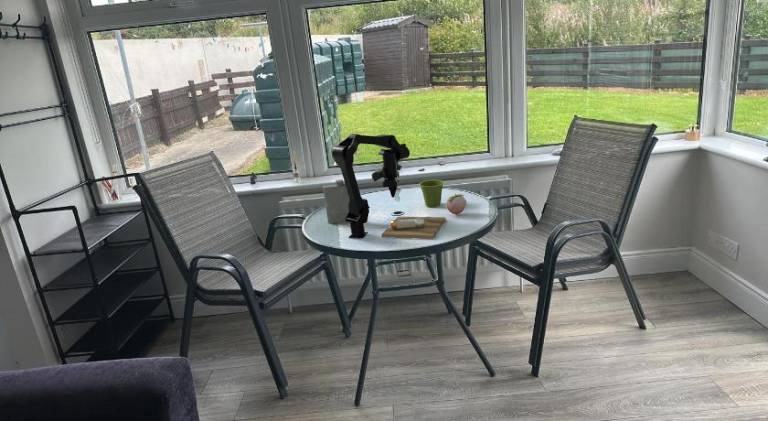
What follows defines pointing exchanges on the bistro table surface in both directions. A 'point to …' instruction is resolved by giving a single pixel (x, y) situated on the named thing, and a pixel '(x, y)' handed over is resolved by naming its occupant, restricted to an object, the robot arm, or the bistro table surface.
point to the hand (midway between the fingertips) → (393, 197)
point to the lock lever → (407, 223)
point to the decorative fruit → (456, 204)
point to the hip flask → (336, 202)
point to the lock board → (417, 229)
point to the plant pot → (432, 192)
